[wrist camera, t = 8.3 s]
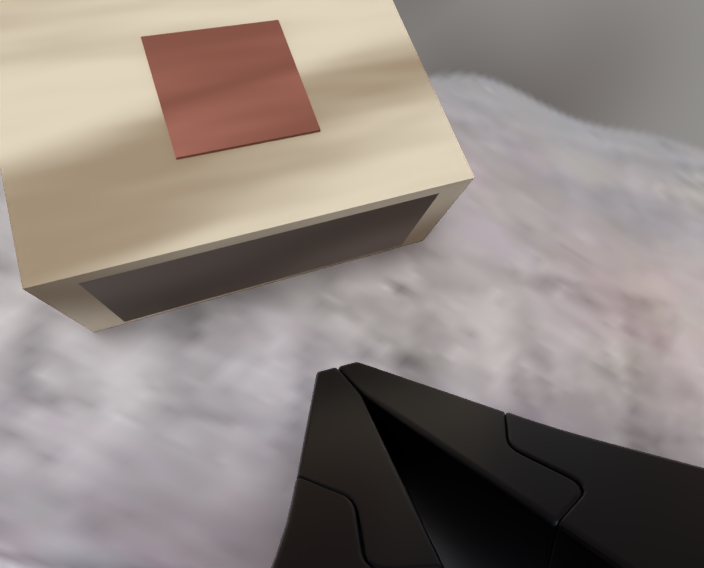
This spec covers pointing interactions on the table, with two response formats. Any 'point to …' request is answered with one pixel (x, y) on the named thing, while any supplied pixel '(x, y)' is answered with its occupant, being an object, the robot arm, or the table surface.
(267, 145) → the birch block
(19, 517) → the table surface
